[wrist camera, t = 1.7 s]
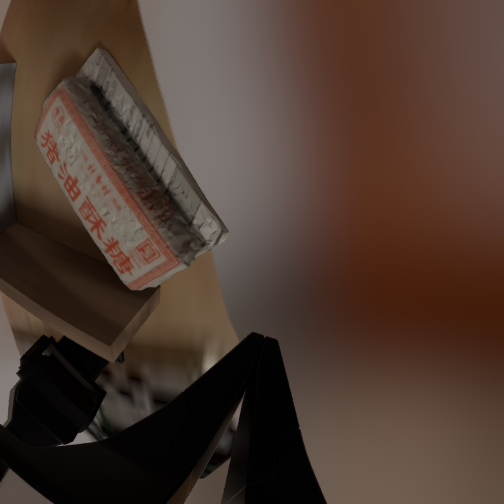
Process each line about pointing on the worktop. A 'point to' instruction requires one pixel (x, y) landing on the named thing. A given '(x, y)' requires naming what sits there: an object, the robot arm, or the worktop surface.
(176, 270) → the packaged product
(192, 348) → the worktop surface
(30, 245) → the brown piece
